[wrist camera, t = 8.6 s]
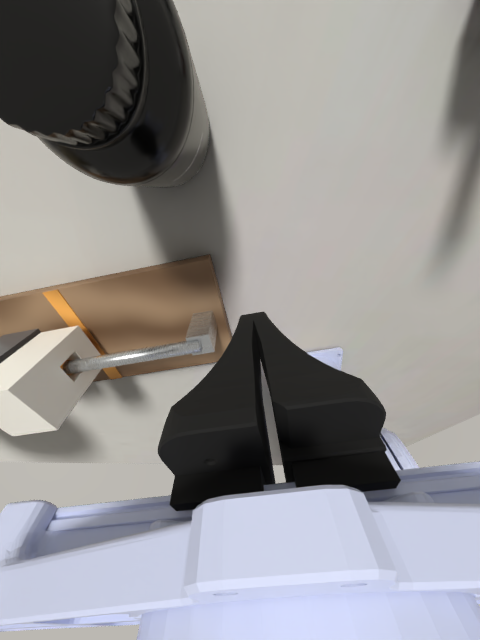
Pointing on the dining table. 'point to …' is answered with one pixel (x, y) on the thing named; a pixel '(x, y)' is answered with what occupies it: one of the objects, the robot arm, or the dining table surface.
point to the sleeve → (43, 381)
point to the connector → (15, 342)
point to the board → (127, 312)
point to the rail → (155, 348)
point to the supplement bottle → (105, 87)
